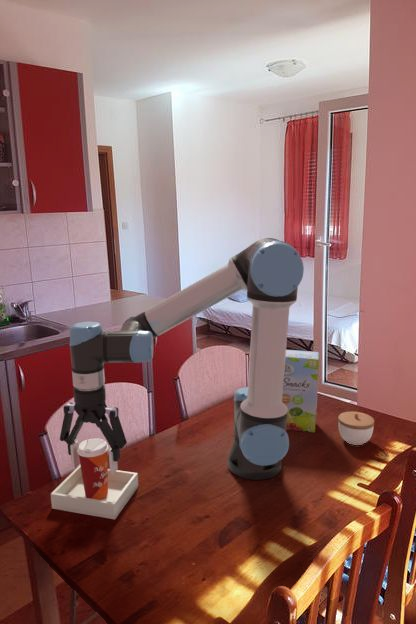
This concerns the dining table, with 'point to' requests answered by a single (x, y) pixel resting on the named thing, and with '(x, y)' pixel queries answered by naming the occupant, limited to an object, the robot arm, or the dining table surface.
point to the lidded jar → (355, 427)
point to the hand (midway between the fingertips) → (94, 469)
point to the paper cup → (94, 467)
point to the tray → (75, 500)
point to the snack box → (301, 389)
